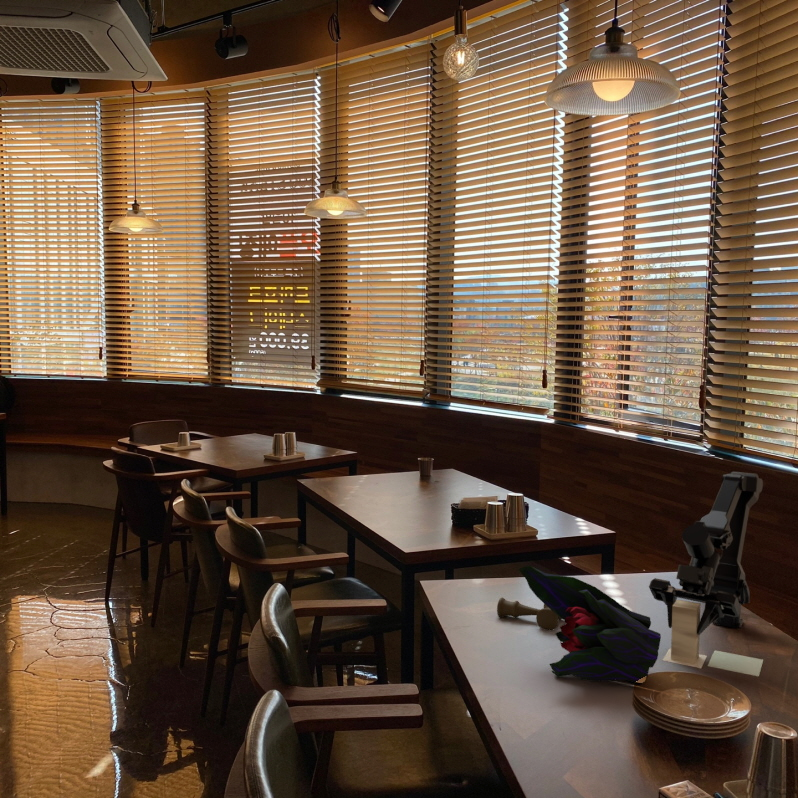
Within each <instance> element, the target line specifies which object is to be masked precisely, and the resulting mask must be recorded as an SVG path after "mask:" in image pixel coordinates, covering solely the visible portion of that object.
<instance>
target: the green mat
mask: <svg viewBox="0 0 798 798" xmlns="http://www.w3.org/2000/svg"><path fill="white" fill-rule="evenodd" d="M763 663H764V659H763V658H756V657H752V656H746V655H742V654H741V655H740V654H736V653H732V652H725V651H720V650H714V651H713V653H712V655H711V657H710V660H709V662H708V663H707V667H710V668H715V669H719V670H720V669H721V670H725V671H728V672H729V671H730V672H735V673H738V674H745V675H750V676H753V677H759V676H760V673H761V670H762V666H763Z"/></svg>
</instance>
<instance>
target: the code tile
mask: <svg viewBox="0 0 798 798" xmlns="http://www.w3.org/2000/svg"><path fill="white" fill-rule="evenodd" d="M707 657H708V655H705V654H700V653H699V657H698V659H697V661H696V663H695V664H691V663H687V662H682V661H677V660H672V659H671V647H670V648H668V650H667V652H666V653H665V655H664V657H663V659H662V661H664V662H669V663H673V664H678V665H682V666H689V667H692V668H693V667H694V668H698V669H702V667H703V666H704V663H705V661H706V659H707Z"/></svg>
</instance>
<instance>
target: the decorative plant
mask: <svg viewBox="0 0 798 798" xmlns="http://www.w3.org/2000/svg"><path fill="white" fill-rule="evenodd" d="M518 571H519V572H520V573H521V575H522V576H523V578H525V580H526V583H527V585H528V587H529V589H530V590H531V591H532V593H533V594H534V595H535V596H536V598H537V599H539V600H540V601H541V602H542V603H543V605H544V604H545V605H546V606H547V607H549V608H550V609H551V610H552V611H553V612H554V613H555V614H556V615H557V616H559V617H560V618H562V619H561V620H563V622H564V623H565V624H563V625H561V626H559V629H560V631H558V632H555V636H556V638H557V639H558V640H559V642H560V643H559V644H560V646H561V648H562V649H564V650H566V651H567V652H568V653H566V654H565V655H563V657H561V659H560V660H557V661H556V662H552V663H549V666H550V668H551V669H552V670H551V672H552V674H554V675H555V676H556V677H557V678H561V677H564V676H565V677H566V676H570V675H572V676H574V677H576V678H577V679H579V680H582V681H590V682H591V681H592V682H609V681H610V682H614V681H616V682H617V681H628V682H631V683H634V684H636V683H635V682H636V681H638V680H639V679H641V678H643V677H645V676H647V677H648V676H649V672H650V669H651V668H652V669H653V668H654V666H655V664H656V663H657V660H658V658H659V650H660V644H661V638H662V636H661V633H660V632H657V631H655V630H652V629H650V627H651V625H652V621H651V617H650V616H647V615H644V614H640V613H637V612H635V611H631V610H630V609H628V608H627V607H625V606H624V605H622V604H620V603H619V602H617V601H616V599H613V598H612V597H611V596H610V595H608V594H606V593H605V592H603V591H602V590H601V589H599V588H597V587H595V586H594V585H592V584H590V583H588V582H585V581H583V580H581V579H579V578H576V577H575V576H565V575H559V574H551V573H546V572H544V571H542V570H540V569H538V568H536V567H534V566H531V565H525V566H524V567H520V568H519V569H518Z"/></svg>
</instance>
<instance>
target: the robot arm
mask: <svg viewBox="0 0 798 798" xmlns="http://www.w3.org/2000/svg"><path fill="white" fill-rule="evenodd" d="M720 485H721V486H720V489H719V491H718V493H717V495H716V497H715V501H714V503H713V504H712V507H711V509H710V511H709V513H708V514H706V515H704V516H703V517H701V519H700V520H696V521H695V522H694V524H692V525H689V526H687V527H686V528H685V529H683V530H682V532H681V537H682V541H683V543H684V545H685V548H686V550H687V553H688V555H689V556H691V557H690V558H691V559H690V562H689V565H685V564H678V568H677V572H676V573H677V574H676V579H677V580H679V581H678V584H679V586H680V587H682V588H677V587H675V586H673V585H671V584H672V583H671V582H670V580H666V579H661V578H656V577H654V578H653V579H651V580H650V582H649V585H648V588H649V590H650V592H651V594H652V596H653V599H655V600H656V601H658V602H663V603H664V605H666V609H667V610H666V611H667V624H668V625H667V626H668V628H670V629H672V606H673V604H674V603H675V602H676V600H678V598H679V599H683V600H687V601H688V600H689V601H691V602H696V603H702V604H704V609H703V612H702V615H701V616H700V622H699V625H698V629H697V634H698V635H701V634H702V633H703V632H704V631H705V630H706V629H707V628H708V627H709V626H710V625H711V624H713V625H715V626H722V627H728V628H734V629H741V628H742V625H743V623H744V619H743V618H741V613H742V612H741V611H742V608H741V607H742V605H743V606H744V605H745V604H750V598H751V597H750V588H749V586H748V583H747V581H746V573H745V571H744V569H743V566H742V565H741V561H742V557H743V550H744V543H745V538H746V532H747V525H748V521H749V513H750V509H751V508H752V506H754V505H755V504H756V503H757V502H758V501H759V497H760V493H762V491H763V487H764V486H763V485H764V482H763V479H762V478H759V475H758V474H757V473H753V472H752V473H751V472H743V471H742V472H740V471H731V472H730V473H726V474H722V478H721V484H720ZM717 550H721V555H720V554H719V552H718V551H717Z"/></svg>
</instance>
